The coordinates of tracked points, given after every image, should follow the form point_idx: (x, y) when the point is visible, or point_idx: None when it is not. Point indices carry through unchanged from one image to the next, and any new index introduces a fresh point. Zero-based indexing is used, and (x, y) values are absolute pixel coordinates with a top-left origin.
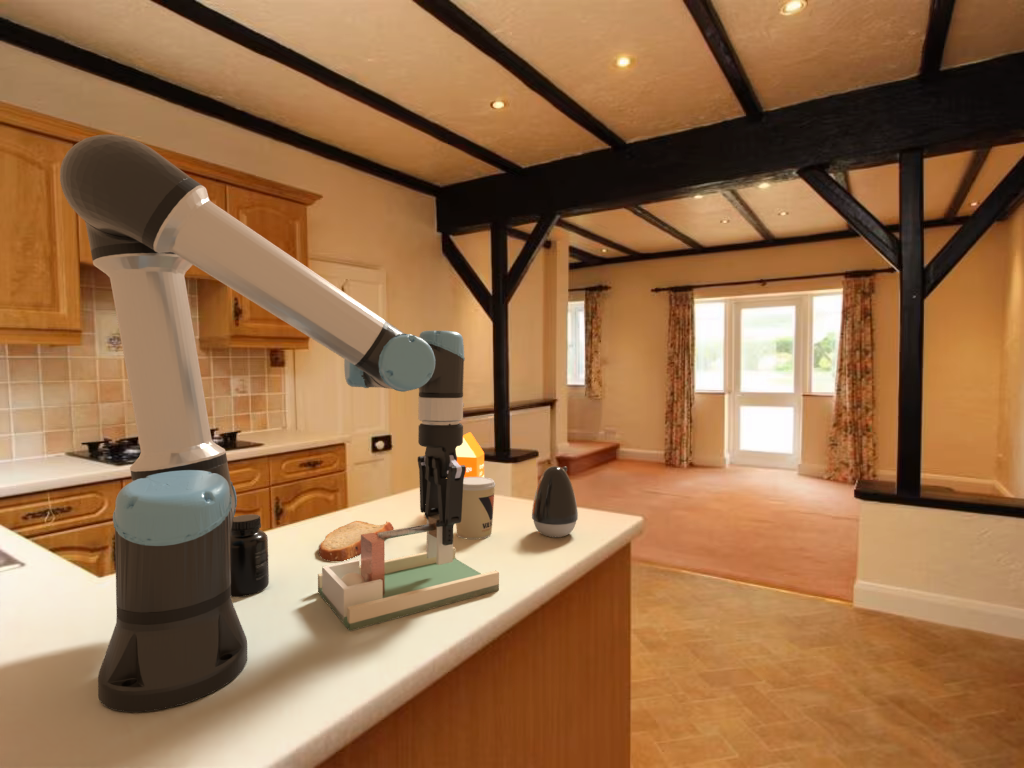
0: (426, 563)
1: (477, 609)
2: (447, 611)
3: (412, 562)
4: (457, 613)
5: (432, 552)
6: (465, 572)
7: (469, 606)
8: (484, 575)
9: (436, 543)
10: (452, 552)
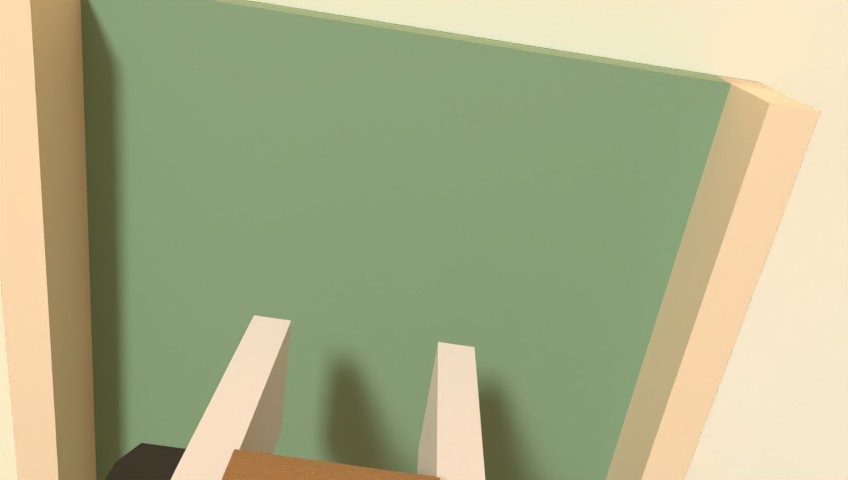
0: (83, 241)
1: (825, 353)
2: (707, 464)
3: (73, 356)
4: (766, 445)
5: (274, 426)
6: (413, 125)
7: (761, 359)
8: (763, 239)
9: (259, 442)
10: (475, 395)
